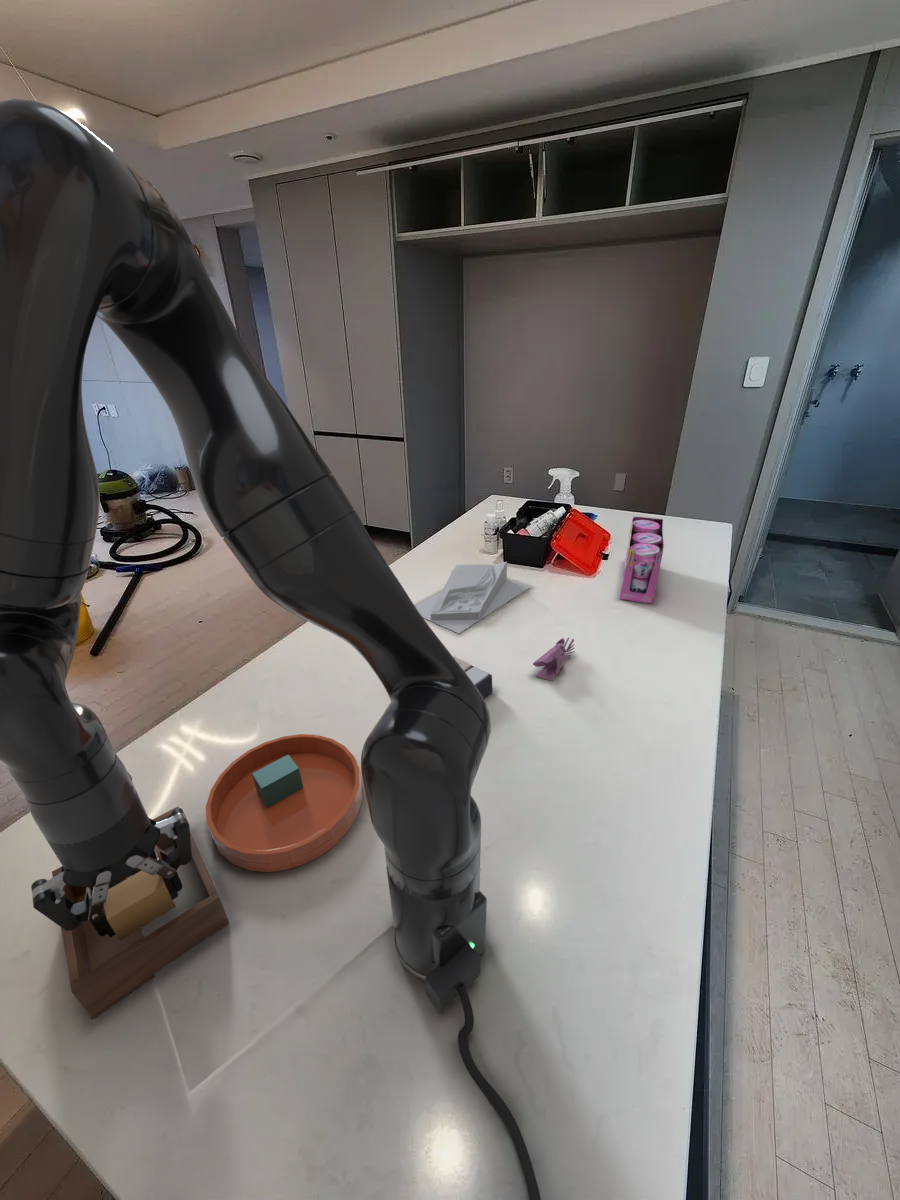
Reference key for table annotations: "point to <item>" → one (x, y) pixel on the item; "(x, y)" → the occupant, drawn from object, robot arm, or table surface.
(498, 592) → the ramp
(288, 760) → the teal rectangular block
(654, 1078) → the table surface
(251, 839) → the bowl
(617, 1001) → the table surface
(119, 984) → the holder
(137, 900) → the tan rectangular block
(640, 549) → the gum box
